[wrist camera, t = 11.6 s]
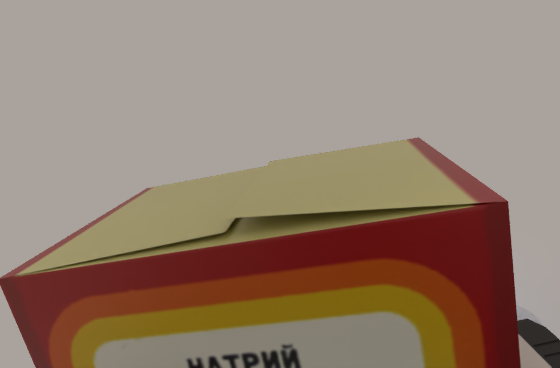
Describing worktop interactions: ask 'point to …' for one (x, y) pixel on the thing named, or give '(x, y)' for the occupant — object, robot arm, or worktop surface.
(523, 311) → the worktop surface
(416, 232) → the baking soda box
